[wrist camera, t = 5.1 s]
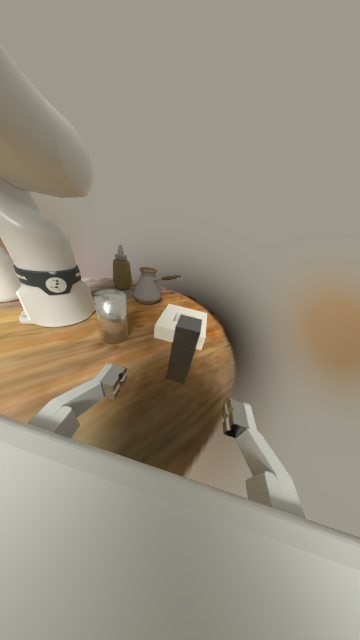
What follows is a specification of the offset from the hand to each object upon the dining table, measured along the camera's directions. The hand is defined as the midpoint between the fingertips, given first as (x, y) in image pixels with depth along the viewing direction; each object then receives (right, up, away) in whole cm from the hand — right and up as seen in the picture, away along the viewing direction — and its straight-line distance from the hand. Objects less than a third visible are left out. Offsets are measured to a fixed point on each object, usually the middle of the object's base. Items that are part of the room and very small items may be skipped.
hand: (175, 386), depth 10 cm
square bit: (0, -7, +20) cm, 21 cm away
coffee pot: (-10, +11, +45) cm, 47 cm away
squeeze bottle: (-27, +21, +53) cm, 63 cm away
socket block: (+1, +2, +33) cm, 33 cm away
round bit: (-17, +1, +26) cm, 31 cm away
